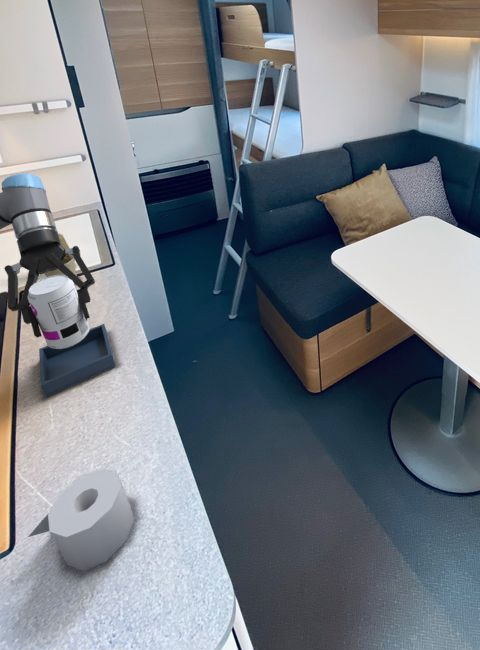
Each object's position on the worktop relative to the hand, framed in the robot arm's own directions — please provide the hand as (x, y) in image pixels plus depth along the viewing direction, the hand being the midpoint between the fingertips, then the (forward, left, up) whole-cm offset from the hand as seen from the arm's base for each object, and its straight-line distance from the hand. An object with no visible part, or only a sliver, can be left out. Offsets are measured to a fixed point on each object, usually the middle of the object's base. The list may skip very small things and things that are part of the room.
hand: (63, 326), depth 90 cm
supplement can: (-2, +2, -6) cm, 7 cm away
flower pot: (-30, +32, -14) cm, 46 cm away
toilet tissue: (+26, -30, -14) cm, 42 cm away
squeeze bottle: (-37, +39, -14) cm, 55 cm away
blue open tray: (-2, +2, -14) cm, 14 cm away
